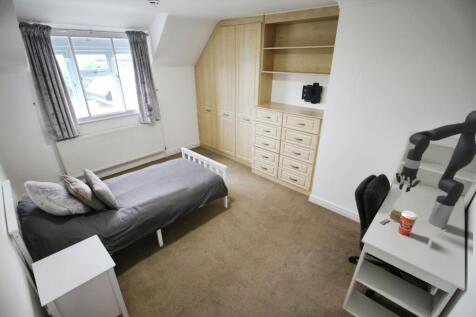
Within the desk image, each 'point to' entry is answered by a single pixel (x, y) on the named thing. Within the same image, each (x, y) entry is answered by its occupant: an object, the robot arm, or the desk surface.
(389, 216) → the cork coaster
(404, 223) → the paper cup
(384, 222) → the slate strip
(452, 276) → the desk surface
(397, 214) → the walnut block
